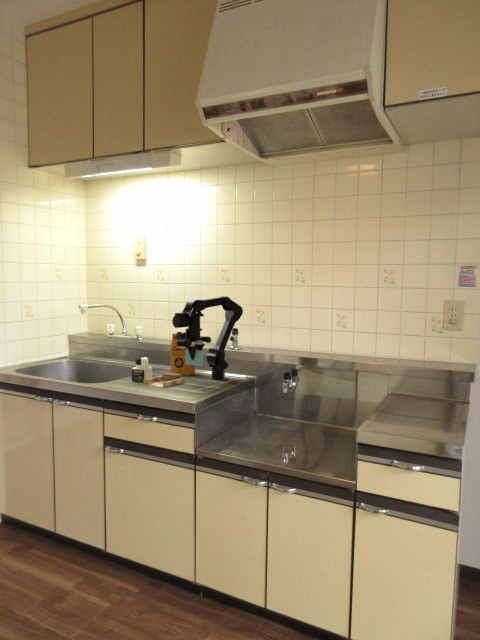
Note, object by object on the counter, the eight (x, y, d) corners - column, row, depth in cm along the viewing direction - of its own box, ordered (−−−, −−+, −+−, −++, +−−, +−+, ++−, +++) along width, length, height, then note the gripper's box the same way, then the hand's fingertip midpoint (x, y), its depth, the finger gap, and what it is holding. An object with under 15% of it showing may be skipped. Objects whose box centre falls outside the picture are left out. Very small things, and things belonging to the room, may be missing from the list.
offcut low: (166, 379, 224) (166, 376, 224) (180, 381, 219) (180, 378, 219) (161, 381, 221) (161, 377, 221) (175, 383, 216) (175, 379, 216)
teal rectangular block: (188, 363, 221) (188, 349, 221) (203, 365, 216) (203, 350, 216) (185, 364, 219) (185, 349, 219) (200, 366, 214) (200, 351, 214)
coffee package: (188, 378, 232) (188, 334, 231) (167, 376, 237) (167, 333, 236) (198, 374, 242) (198, 332, 240) (177, 373, 247) (177, 332, 245)
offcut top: (167, 376, 224) (167, 372, 223) (181, 378, 219) (180, 374, 219) (162, 377, 221) (162, 373, 220) (176, 379, 216) (176, 375, 216)
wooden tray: (164, 381, 226) (164, 375, 226) (184, 384, 219) (184, 377, 218) (144, 386, 215) (144, 379, 215) (164, 389, 207) (164, 382, 207)
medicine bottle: (131, 382, 222) (131, 358, 221) (140, 380, 229) (139, 355, 228) (144, 384, 219) (143, 358, 218) (152, 381, 226) (152, 356, 225)
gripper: (193, 324, 229) (194, 355, 230) (167, 327, 213) (168, 360, 214) (211, 325, 222) (211, 357, 223) (185, 328, 207) (186, 363, 208)
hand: (194, 359), depth 218 cm, fingers closed on teal rectangular block, 2 cm apart
